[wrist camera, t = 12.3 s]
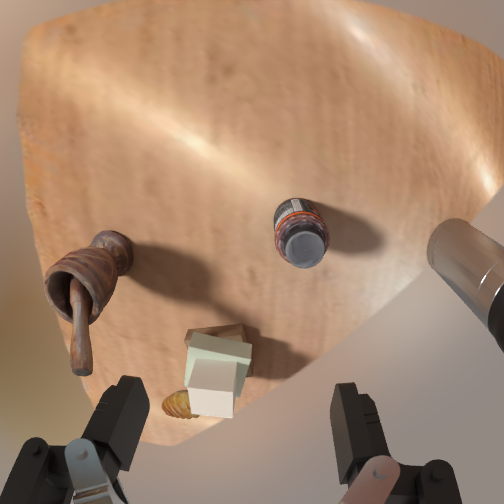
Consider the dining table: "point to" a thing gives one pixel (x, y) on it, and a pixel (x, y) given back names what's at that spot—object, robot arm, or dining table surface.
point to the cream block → (213, 388)
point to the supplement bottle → (300, 233)
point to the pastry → (178, 405)
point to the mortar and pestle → (86, 289)
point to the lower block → (223, 336)
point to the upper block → (219, 355)
